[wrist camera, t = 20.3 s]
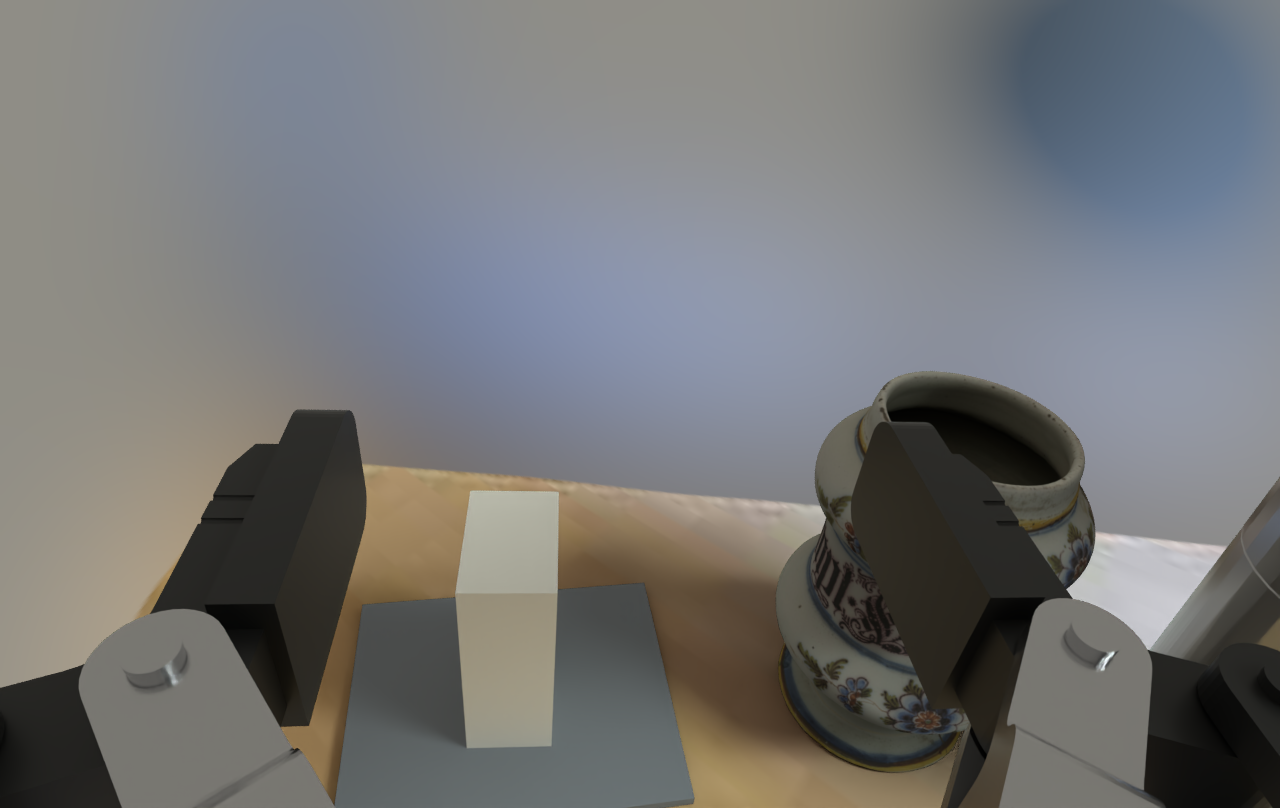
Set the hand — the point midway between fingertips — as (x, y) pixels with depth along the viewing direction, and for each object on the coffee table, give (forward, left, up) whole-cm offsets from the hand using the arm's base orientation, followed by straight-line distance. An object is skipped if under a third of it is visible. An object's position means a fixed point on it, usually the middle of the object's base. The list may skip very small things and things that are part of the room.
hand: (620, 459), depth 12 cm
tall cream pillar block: (+1, -15, -28) cm, 31 cm away
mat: (+1, -15, -28) cm, 32 cm away
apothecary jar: (-18, -13, -28) cm, 36 cm away
